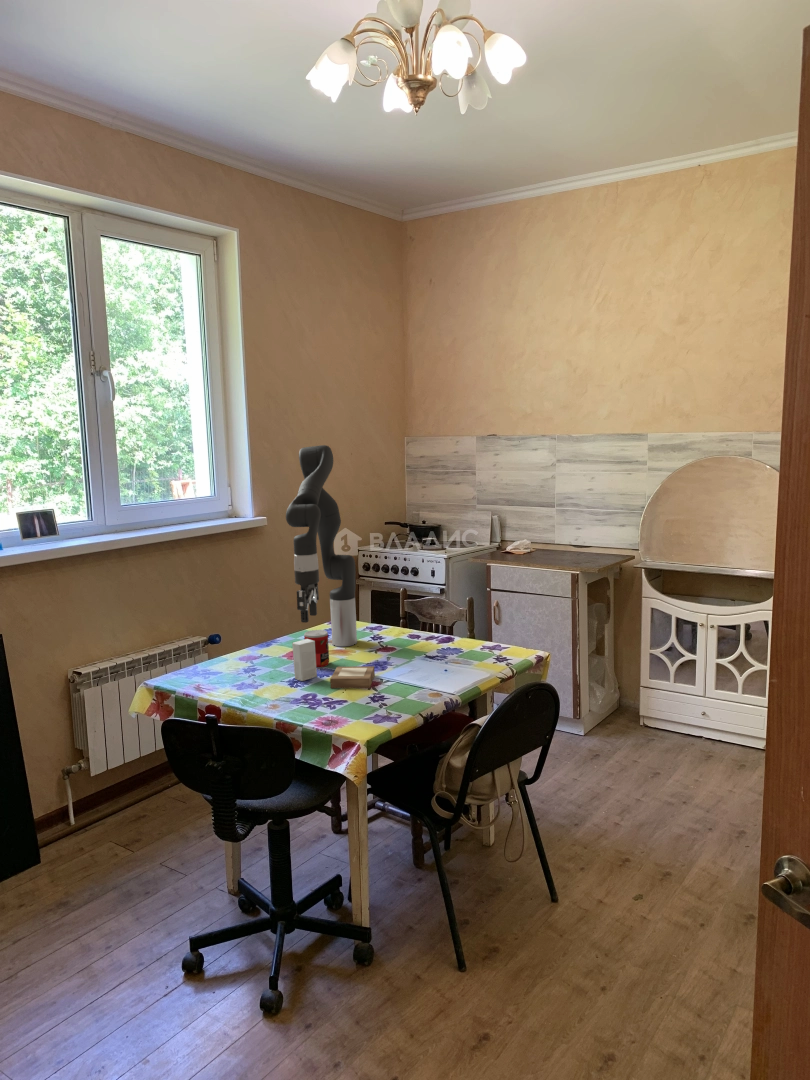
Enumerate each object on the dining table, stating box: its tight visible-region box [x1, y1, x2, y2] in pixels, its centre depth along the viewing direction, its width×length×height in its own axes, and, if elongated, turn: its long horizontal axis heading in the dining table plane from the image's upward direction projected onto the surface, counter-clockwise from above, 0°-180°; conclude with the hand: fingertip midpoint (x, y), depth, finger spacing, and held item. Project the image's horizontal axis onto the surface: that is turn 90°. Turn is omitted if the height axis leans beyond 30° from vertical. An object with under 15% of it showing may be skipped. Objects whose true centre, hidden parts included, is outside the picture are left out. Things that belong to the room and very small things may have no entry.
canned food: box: [303, 629, 330, 668], centre depth 250 cm, size 8×8×11 cm
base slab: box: [329, 665, 376, 689], centre depth 232 cm, size 12×12×3 cm
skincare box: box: [292, 639, 318, 682], centre depth 237 cm, size 6×4×12 cm
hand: (309, 618), depth 234 cm, fingers open, 8 cm apart
